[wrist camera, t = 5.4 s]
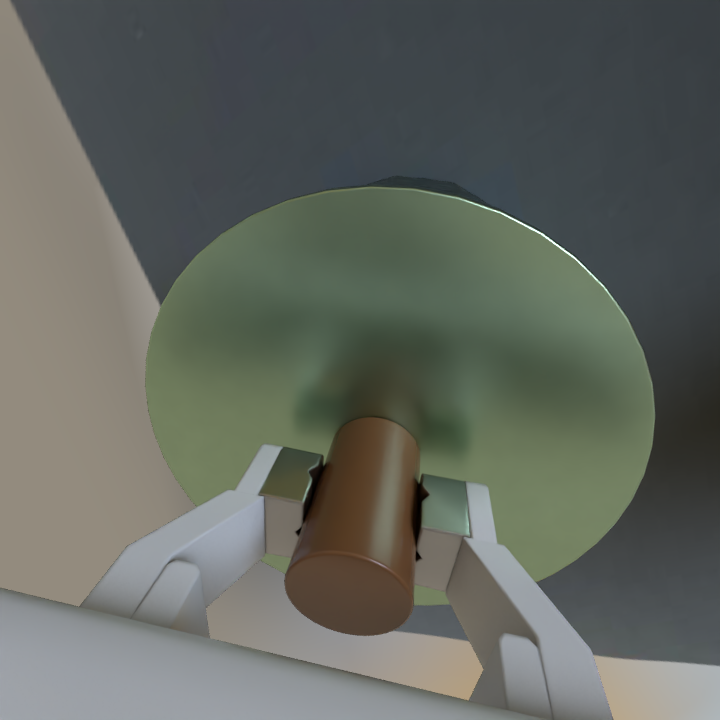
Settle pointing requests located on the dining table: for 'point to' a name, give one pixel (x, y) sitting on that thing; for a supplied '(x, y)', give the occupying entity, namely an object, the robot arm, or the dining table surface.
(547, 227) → the dining table surface
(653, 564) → the dining table surface
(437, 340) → the tin lid
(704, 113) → the dining table surface
